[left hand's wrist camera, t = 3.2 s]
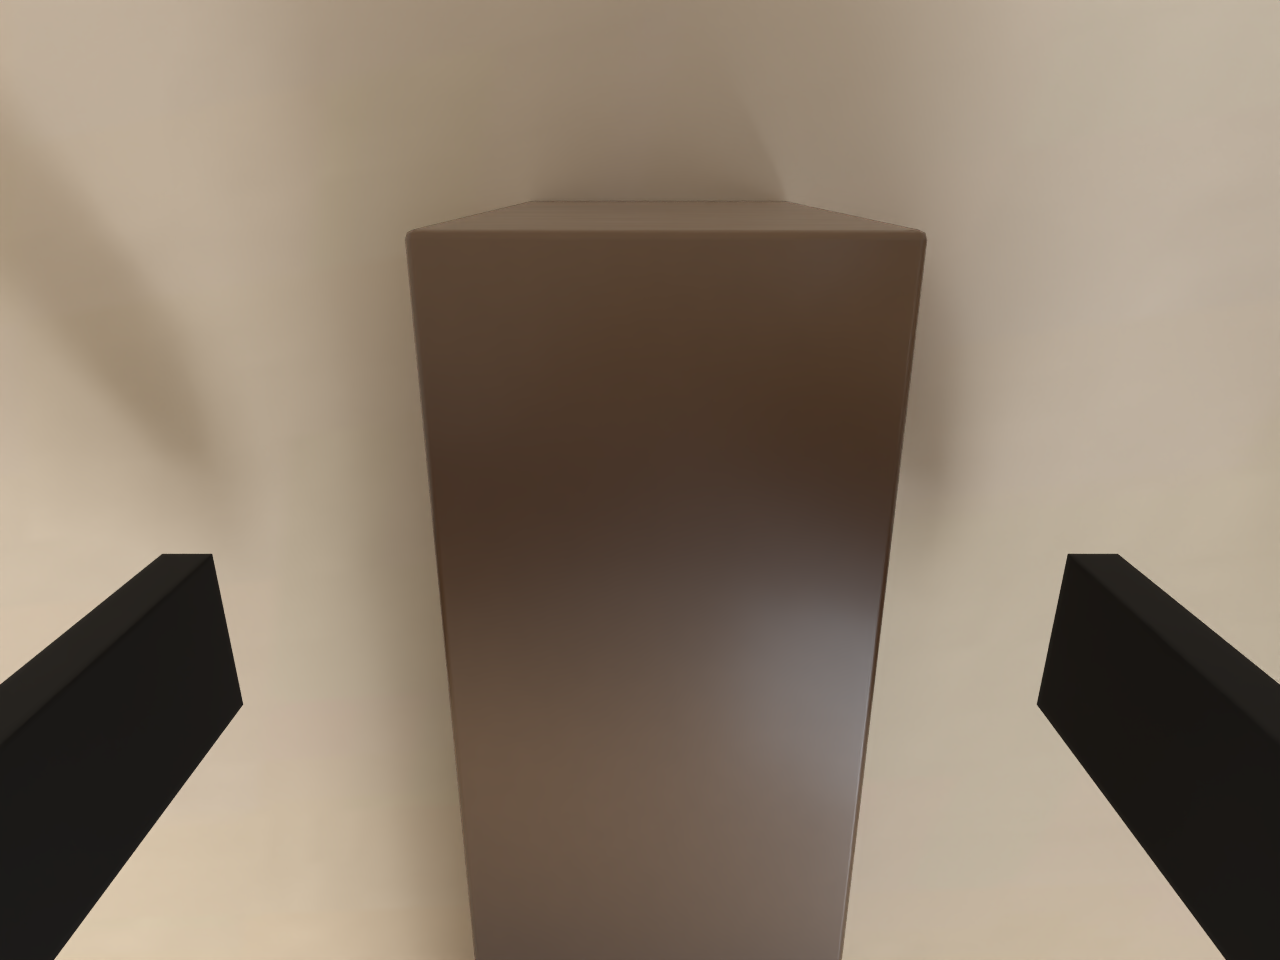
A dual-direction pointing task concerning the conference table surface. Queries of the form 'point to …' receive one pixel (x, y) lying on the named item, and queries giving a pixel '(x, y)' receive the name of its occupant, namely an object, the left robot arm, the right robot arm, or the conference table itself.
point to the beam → (662, 561)
